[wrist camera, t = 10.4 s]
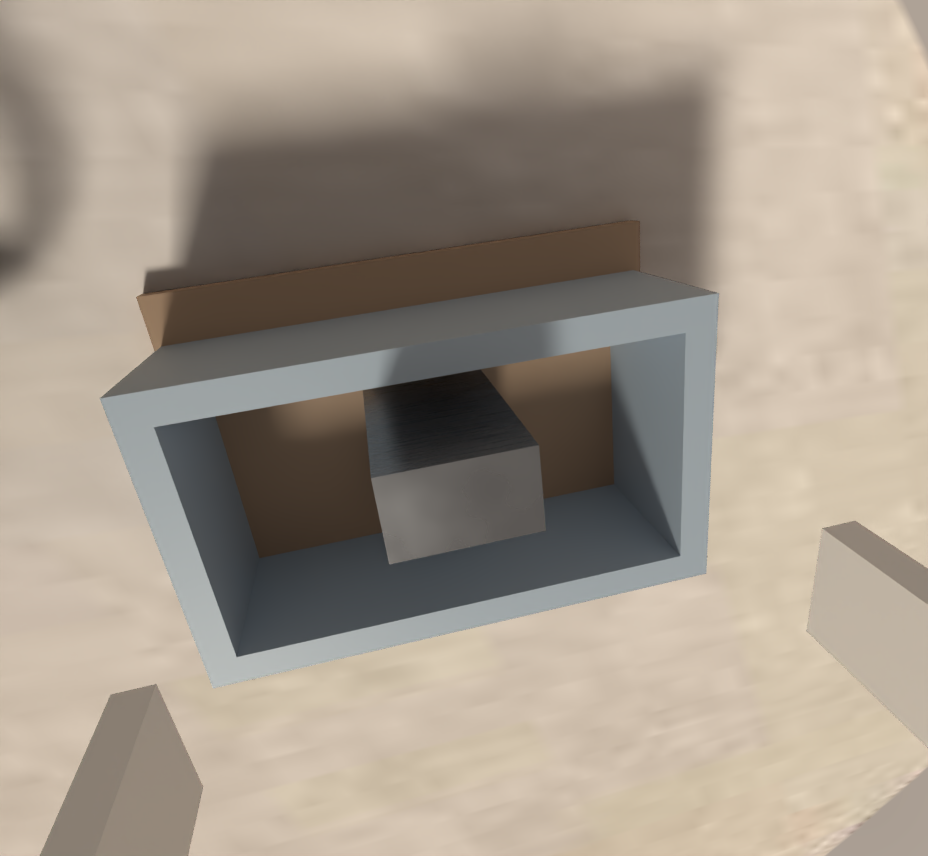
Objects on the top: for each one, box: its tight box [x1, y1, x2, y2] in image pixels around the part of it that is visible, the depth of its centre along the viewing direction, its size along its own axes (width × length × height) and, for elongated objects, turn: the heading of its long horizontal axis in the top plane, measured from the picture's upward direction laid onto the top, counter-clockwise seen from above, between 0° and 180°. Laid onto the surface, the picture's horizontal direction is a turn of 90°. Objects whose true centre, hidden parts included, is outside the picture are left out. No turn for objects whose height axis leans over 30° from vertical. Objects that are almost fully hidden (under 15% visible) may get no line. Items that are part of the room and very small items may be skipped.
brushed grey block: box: [363, 369, 546, 565], centre depth 23 cm, size 6×5×10 cm
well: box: [100, 220, 719, 688], centre depth 25 cm, size 16×21×7 cm
